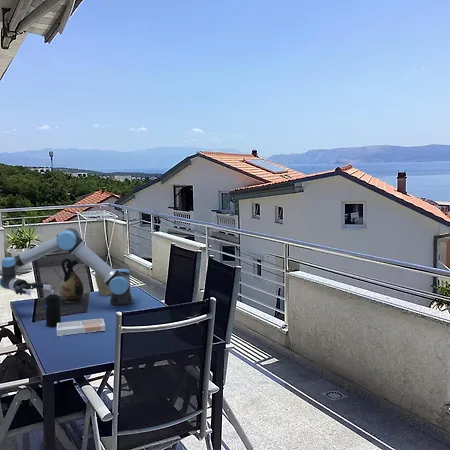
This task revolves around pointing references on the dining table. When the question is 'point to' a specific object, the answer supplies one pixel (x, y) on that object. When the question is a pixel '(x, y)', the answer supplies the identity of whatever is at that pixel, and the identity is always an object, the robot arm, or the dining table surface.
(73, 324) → the tray
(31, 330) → the dining table surface
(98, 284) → the plant pot
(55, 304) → the aerosol can
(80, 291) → the ceramic jug
